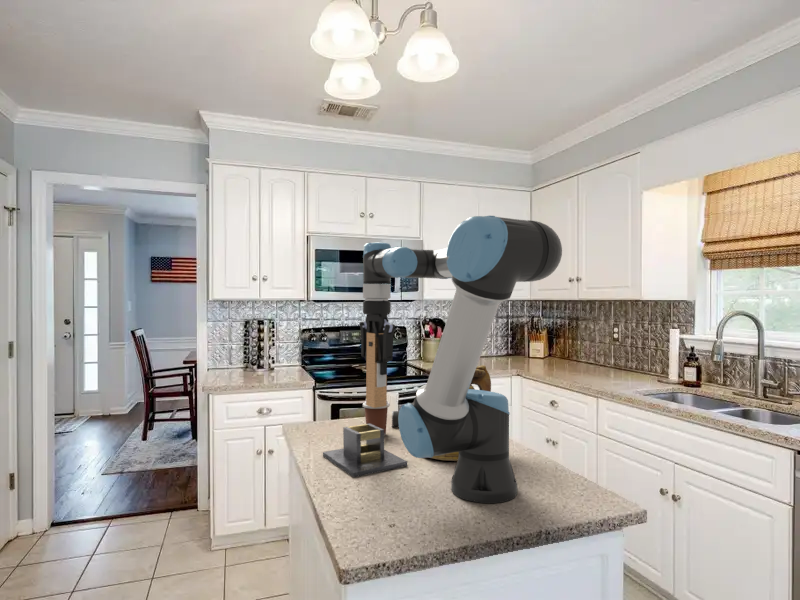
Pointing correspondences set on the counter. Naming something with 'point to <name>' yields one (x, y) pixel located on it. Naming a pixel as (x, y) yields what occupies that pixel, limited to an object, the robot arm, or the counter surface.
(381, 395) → the tapered wooden post
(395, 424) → the flashlight
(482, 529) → the counter surface
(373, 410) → the coffee cup
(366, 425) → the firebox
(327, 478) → the counter surface
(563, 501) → the counter surface
